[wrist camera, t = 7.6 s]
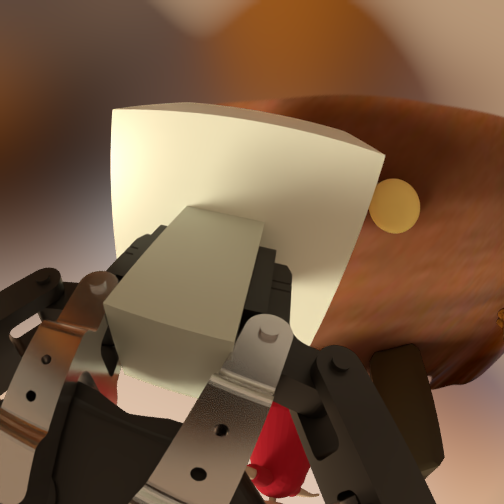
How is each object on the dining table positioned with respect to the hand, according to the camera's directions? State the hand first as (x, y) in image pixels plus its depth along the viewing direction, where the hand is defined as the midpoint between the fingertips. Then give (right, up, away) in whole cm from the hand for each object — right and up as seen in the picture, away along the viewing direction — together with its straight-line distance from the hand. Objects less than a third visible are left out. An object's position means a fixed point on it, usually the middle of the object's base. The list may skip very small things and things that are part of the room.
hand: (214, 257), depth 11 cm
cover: (+1, +5, +8) cm, 10 cm away
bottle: (+25, -20, +27) cm, 42 cm away
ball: (+14, +4, +11) cm, 19 cm away
